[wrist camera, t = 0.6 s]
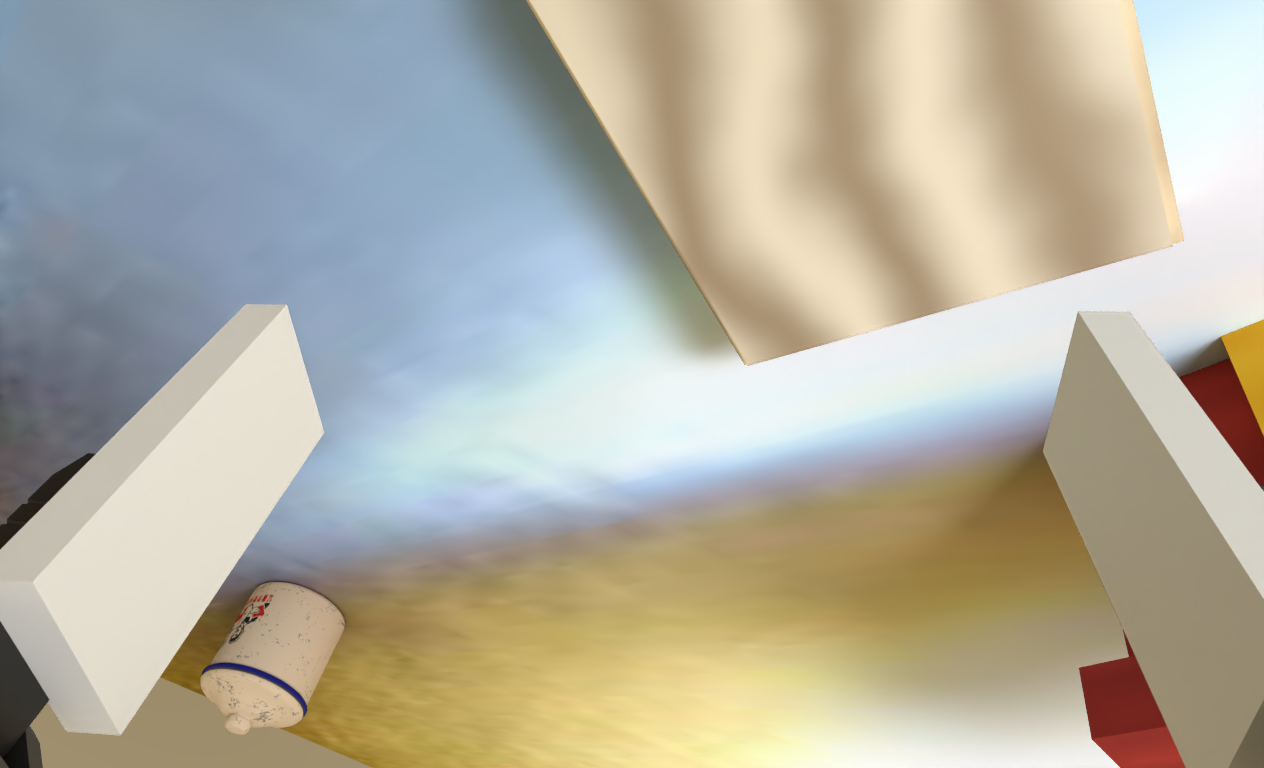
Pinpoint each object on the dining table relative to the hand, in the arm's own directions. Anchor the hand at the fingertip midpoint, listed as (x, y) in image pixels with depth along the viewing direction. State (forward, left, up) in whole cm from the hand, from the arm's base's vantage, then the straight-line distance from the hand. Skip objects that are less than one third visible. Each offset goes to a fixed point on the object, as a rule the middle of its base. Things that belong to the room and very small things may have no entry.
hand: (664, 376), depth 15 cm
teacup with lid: (+63, +34, -27) cm, 76 cm away
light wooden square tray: (0, +7, -27) cm, 28 cm away
